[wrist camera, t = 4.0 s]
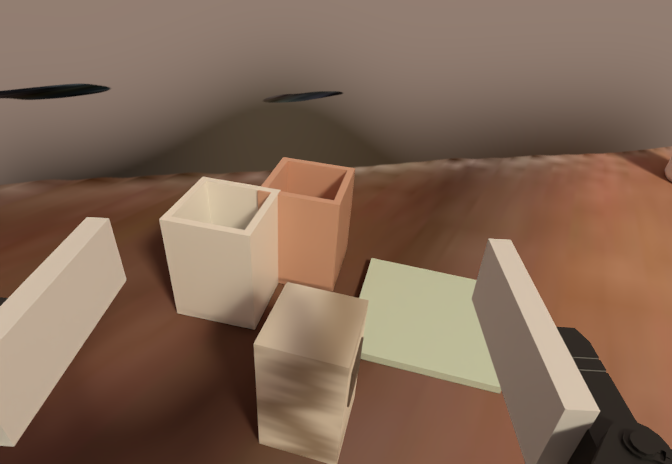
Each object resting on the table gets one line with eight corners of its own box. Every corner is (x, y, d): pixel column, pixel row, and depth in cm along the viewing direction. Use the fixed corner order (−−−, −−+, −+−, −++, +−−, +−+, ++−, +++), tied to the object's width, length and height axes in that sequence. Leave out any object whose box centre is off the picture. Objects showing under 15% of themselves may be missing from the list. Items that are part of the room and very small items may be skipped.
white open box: (177, 313, 43) (159, 219, 37) (213, 263, 50) (202, 176, 43) (254, 329, 42) (249, 236, 36) (281, 277, 49) (280, 189, 42)
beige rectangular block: (259, 443, 33) (253, 343, 27) (287, 377, 38) (287, 280, 32) (338, 466, 32) (351, 368, 26) (356, 395, 37) (371, 299, 31)
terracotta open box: (260, 279, 48) (257, 191, 42) (283, 238, 55) (283, 157, 48) (332, 293, 47) (339, 205, 41) (346, 250, 53) (355, 168, 47)
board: (342, 354, 40) (343, 348, 40) (370, 263, 52) (371, 258, 51) (499, 393, 38) (502, 387, 38) (493, 289, 49) (495, 284, 49)
